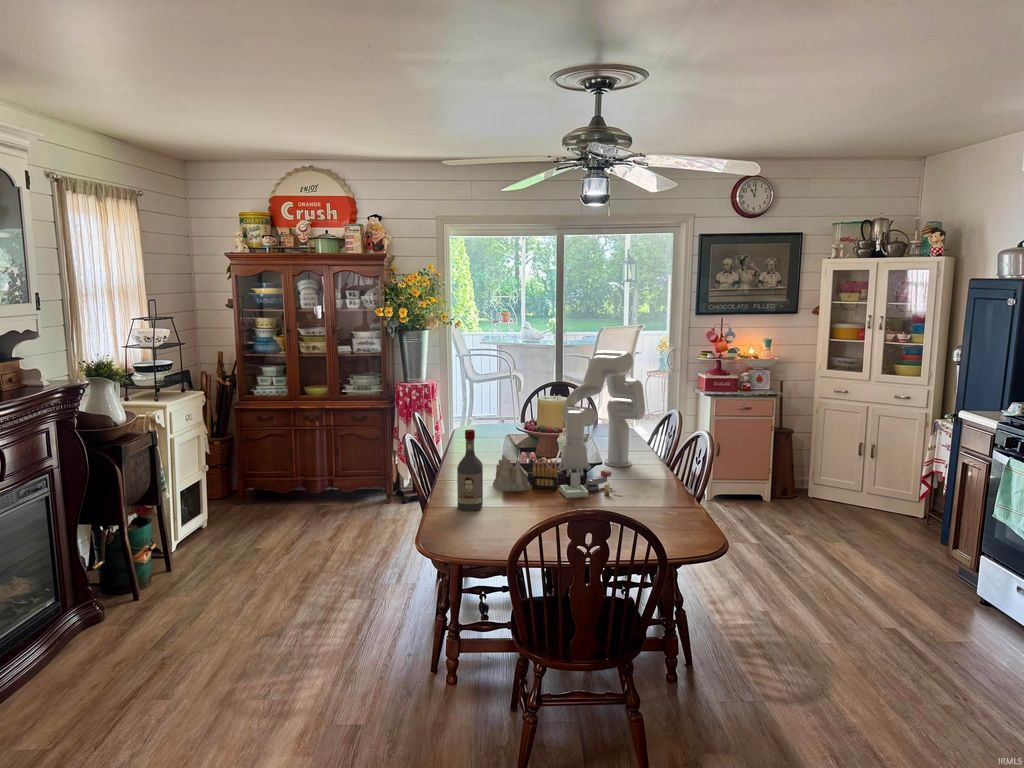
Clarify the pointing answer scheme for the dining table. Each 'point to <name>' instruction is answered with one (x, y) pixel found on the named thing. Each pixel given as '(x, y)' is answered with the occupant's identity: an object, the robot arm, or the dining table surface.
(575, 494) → the tray
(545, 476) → the ammunition clip
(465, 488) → the liquor
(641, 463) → the dining table surface
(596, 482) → the crank
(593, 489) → the crank pedestal
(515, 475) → the grey castle model
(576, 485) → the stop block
